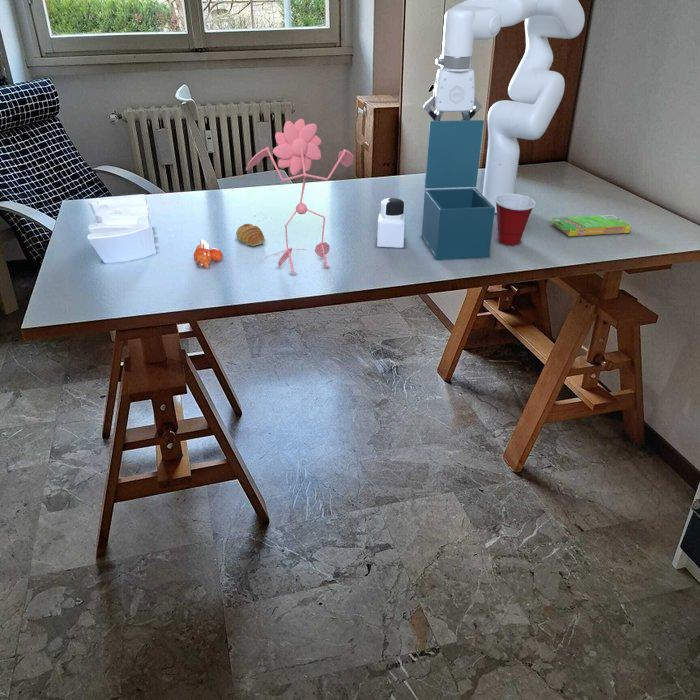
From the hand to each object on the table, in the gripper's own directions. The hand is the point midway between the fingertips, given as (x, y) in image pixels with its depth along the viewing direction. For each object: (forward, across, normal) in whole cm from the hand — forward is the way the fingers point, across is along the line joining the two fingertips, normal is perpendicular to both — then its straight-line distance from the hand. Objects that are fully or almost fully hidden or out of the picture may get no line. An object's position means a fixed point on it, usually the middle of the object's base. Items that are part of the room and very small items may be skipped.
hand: (449, 135), depth 176 cm
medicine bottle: (+27, -16, -8) cm, 32 cm away
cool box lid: (+4, 0, -5) cm, 7 cm away
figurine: (+27, -42, -18) cm, 53 cm away
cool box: (+26, 0, -13) cm, 29 cm away
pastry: (+27, -54, -2) cm, 60 cm away
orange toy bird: (+27, -65, -16) cm, 72 cm away
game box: (+26, +42, -5) cm, 50 cm away
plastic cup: (+26, +16, -12) cm, 33 cm away
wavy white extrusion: (+27, -88, 0) cm, 92 cm away
